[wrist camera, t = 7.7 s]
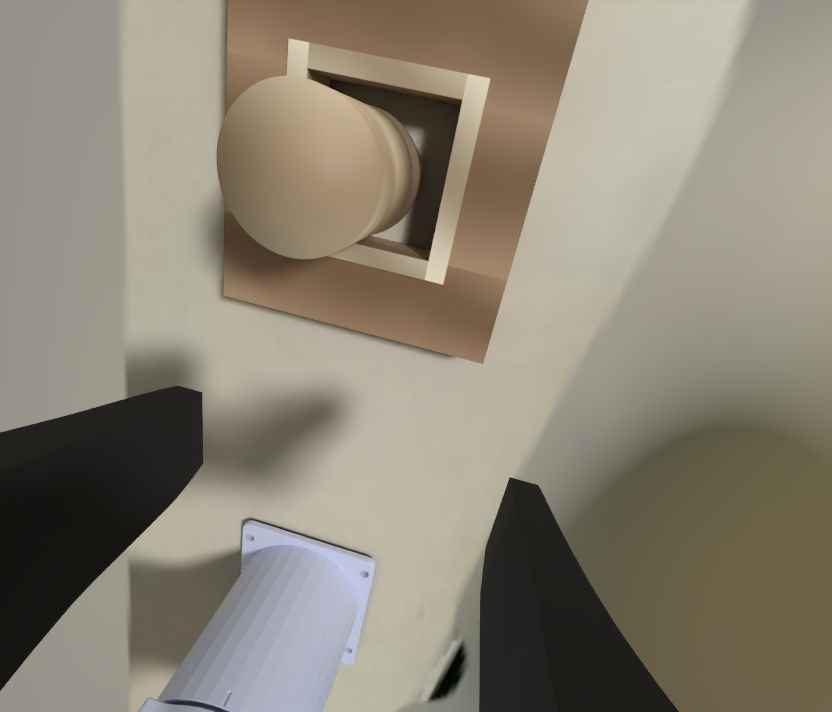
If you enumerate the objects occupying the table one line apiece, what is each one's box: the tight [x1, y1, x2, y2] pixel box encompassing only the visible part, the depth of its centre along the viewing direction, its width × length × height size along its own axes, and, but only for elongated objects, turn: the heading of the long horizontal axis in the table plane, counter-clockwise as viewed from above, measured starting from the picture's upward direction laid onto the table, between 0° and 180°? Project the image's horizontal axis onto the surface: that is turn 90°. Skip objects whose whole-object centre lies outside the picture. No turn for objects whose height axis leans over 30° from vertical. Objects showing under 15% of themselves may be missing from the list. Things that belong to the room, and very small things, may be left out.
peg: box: [217, 76, 423, 259], centre depth 14 cm, size 4×4×8 cm
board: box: [223, 0, 588, 364], centre depth 16 cm, size 12×11×2 cm
